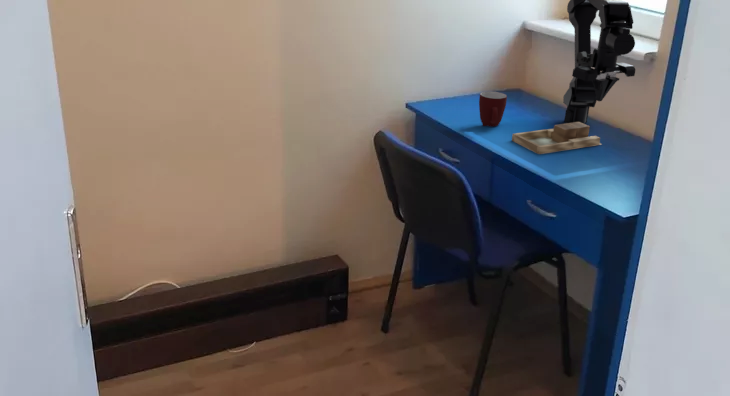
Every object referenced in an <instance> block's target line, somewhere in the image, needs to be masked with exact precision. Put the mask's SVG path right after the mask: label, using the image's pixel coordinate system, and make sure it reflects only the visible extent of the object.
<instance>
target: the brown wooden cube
mask: <svg viewBox="0 0 730 396" xmlns="http://www.w3.org/2000/svg"><path fill="white" fill-rule="evenodd" d="M553 129H554V131H553V137H552V140H553V141H555V142H557V143H562V142H568V140H569V139H576V132H577V128H576V127H574V126H571V125H569V124H567V123H566V122H565V123H560V124H554V125H553Z"/></svg>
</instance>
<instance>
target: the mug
mask: <svg viewBox="0 0 730 396" xmlns="http://www.w3.org/2000/svg"><path fill="white" fill-rule="evenodd" d="M507 101H508V96H507V94H506V93H503V92H497V91H489V90H488V91H482V92H480V94H479V99H478V108H479V119H480V122H481V124H482V127H498V126H499V125H500V123H501V121H502V119H503V116H504V113H505V109H506V106H507Z"/></svg>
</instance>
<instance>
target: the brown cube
mask: <svg viewBox="0 0 730 396" xmlns="http://www.w3.org/2000/svg"><path fill="white" fill-rule="evenodd" d="M567 124H569V125H571V126H574V127H576V128H577V132H576V138H583V137H589V133H590V128H591V126H590V125H587V124H586V123H584V124H583V123H581V122H573V123H567Z"/></svg>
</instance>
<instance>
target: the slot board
mask: <svg viewBox="0 0 730 396" xmlns="http://www.w3.org/2000/svg"><path fill="white" fill-rule="evenodd" d="M553 131H554V128H548V129H545V128H544V129H539V130H538V129H537V130H532V131H531V130H530V131H524V132H516V133H512V136H511V137H512V138H511V141H512V142H513V143H516V144H518V145H519V146H522V147H523V148H525V149H528V150H529V151H532V152H533V153H535V154H537V155H545V154H550V153H556V152H561V151H563V152H564V151H569V150H575V149H580V148H581V149H582V148H588V147H595V146H601V145H603V144H602V143H601V137H599V136H597V135H591V136H588V137H583V138H576V139H569V140H568V142H562V143H557V142H555V141H553V140H552V137H553Z"/></svg>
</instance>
